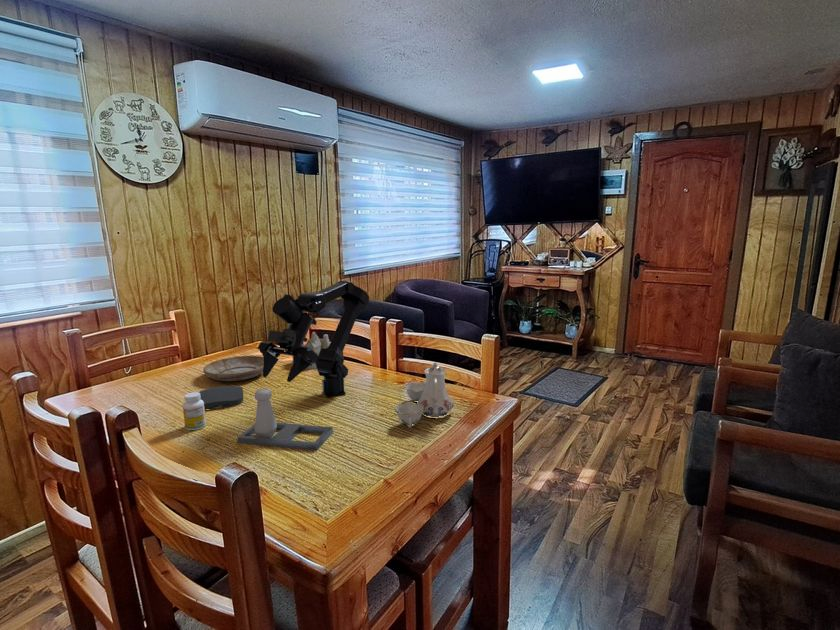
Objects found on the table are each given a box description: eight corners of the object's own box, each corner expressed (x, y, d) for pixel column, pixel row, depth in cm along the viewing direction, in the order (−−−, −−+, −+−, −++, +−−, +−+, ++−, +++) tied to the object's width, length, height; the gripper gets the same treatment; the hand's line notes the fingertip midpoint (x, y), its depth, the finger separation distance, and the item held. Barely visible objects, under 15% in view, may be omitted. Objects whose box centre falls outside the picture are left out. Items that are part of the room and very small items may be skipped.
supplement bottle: (190, 423, 130) (186, 391, 129) (209, 422, 131) (205, 390, 129) (182, 431, 125) (178, 398, 123) (202, 430, 126) (198, 397, 124)
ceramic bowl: (247, 363, 188) (246, 352, 187) (282, 373, 174) (281, 361, 173) (192, 378, 170) (190, 366, 169) (227, 391, 156) (226, 377, 155)
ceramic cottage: (342, 362, 188) (337, 327, 185) (308, 373, 176) (303, 336, 173) (320, 357, 198) (316, 324, 196) (287, 367, 187) (282, 332, 184)
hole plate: (237, 442, 118) (237, 437, 118) (259, 425, 128) (259, 420, 128) (316, 450, 114) (316, 445, 113) (332, 432, 124) (332, 427, 123)
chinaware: (403, 400, 151) (397, 352, 147) (452, 395, 150) (447, 347, 147) (396, 439, 123) (388, 382, 120) (456, 433, 122) (450, 376, 119)
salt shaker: (270, 441, 119) (266, 394, 116) (250, 439, 120) (246, 393, 118) (281, 431, 125) (278, 387, 122) (262, 429, 126) (258, 385, 123)
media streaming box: (197, 396, 152) (196, 388, 151) (243, 391, 157) (243, 382, 156) (192, 413, 138) (191, 404, 138) (243, 406, 143) (242, 397, 143)
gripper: (257, 315, 132) (233, 363, 126) (307, 320, 124) (284, 372, 117) (280, 332, 141) (258, 378, 134) (327, 338, 133) (307, 388, 126)
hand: (275, 379), depth 128 cm, fingers open, 9 cm apart
